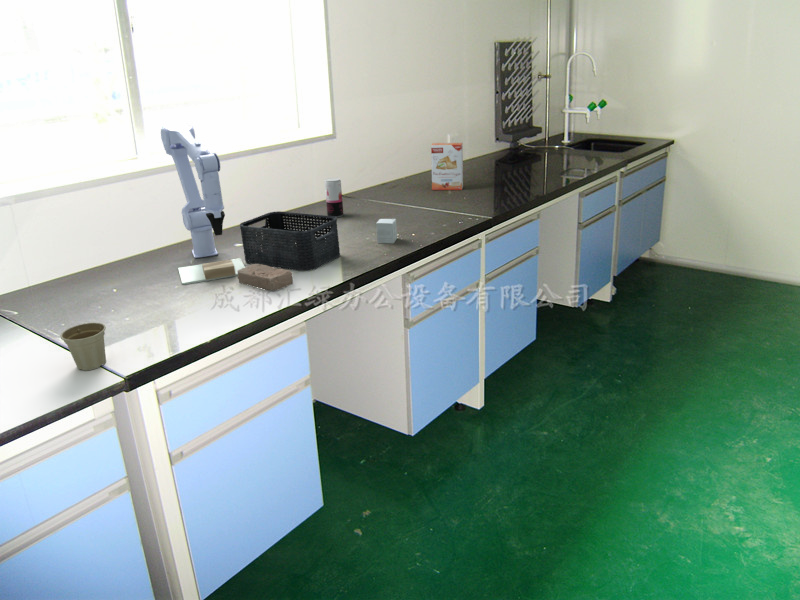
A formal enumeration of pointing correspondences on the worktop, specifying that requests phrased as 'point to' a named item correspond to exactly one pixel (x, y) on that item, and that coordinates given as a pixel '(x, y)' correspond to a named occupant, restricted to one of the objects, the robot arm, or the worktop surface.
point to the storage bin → (291, 241)
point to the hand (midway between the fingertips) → (218, 234)
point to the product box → (386, 231)
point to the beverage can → (334, 197)
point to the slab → (218, 269)
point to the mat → (196, 273)
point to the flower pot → (86, 345)
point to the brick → (265, 277)
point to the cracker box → (447, 166)
